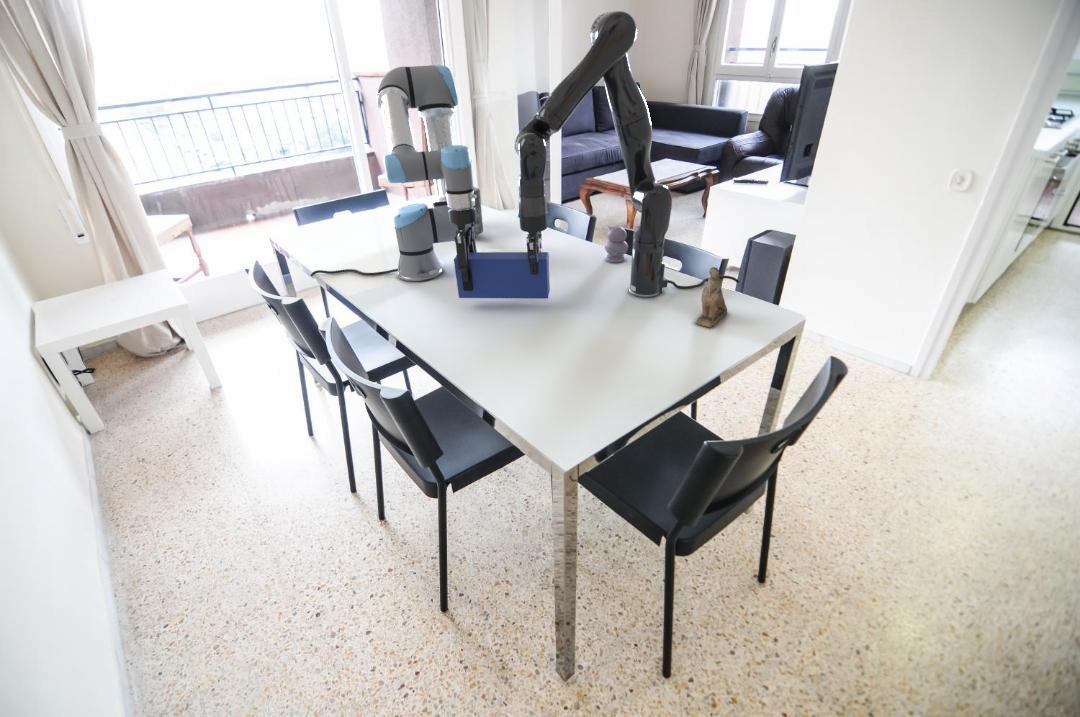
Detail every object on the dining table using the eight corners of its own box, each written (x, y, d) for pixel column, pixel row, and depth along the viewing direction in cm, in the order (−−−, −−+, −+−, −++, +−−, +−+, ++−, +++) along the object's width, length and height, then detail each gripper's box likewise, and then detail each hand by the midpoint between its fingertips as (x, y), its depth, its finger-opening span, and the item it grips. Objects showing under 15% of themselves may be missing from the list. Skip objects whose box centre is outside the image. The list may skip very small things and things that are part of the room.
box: (458, 298, 147) (453, 259, 141) (463, 290, 152) (458, 252, 146) (548, 298, 144) (546, 259, 138) (549, 290, 149) (548, 251, 143)
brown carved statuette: (709, 335, 136) (713, 280, 124) (691, 329, 139) (693, 274, 128) (730, 313, 142) (736, 258, 130) (712, 307, 145) (716, 253, 133)
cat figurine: (631, 259, 181) (633, 226, 175) (619, 265, 176) (620, 231, 170) (612, 254, 186) (614, 222, 180) (599, 259, 181) (600, 227, 175)
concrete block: (488, 238, 207) (483, 189, 196) (469, 243, 203) (464, 193, 192) (458, 224, 226) (452, 179, 215) (440, 228, 221) (434, 182, 211)
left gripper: (467, 217, 127) (476, 299, 140) (482, 198, 143) (489, 273, 155) (439, 217, 128) (450, 299, 140) (457, 198, 144) (465, 273, 156)
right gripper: (544, 219, 128) (546, 280, 137) (549, 204, 140) (550, 261, 149) (515, 219, 129) (519, 279, 138) (522, 204, 141) (526, 261, 150)
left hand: (470, 285), depth 148 cm, fingers closed on box, 6 cm apart
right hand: (535, 269), depth 143 cm, fingers closed on box, 6 cm apart
